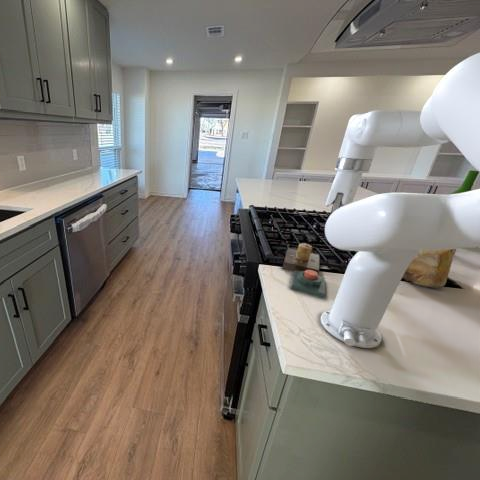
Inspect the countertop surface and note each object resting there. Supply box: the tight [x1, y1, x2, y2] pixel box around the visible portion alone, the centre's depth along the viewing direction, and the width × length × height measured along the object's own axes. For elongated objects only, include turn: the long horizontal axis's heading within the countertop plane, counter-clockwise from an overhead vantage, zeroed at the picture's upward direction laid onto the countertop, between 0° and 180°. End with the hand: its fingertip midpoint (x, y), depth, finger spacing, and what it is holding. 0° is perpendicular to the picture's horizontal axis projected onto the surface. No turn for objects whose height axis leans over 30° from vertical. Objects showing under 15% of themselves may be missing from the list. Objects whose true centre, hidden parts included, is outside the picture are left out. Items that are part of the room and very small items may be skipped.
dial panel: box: [282, 247, 320, 274], centre depth 94 cm, size 14×11×3 cm
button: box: [304, 270, 319, 280], centre depth 81 cm, size 4×4×2 cm
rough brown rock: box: [402, 249, 457, 289], centre depth 89 cm, size 23×17×15 cm
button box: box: [290, 270, 326, 299], centre depth 82 cm, size 11×9×4 cm
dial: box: [296, 242, 314, 261], centre depth 92 cm, size 4×4×5 cm
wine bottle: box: [449, 169, 480, 195], centre depth 117 cm, size 9×9×32 cm
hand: (332, 229), depth 74 cm, fingers closed
